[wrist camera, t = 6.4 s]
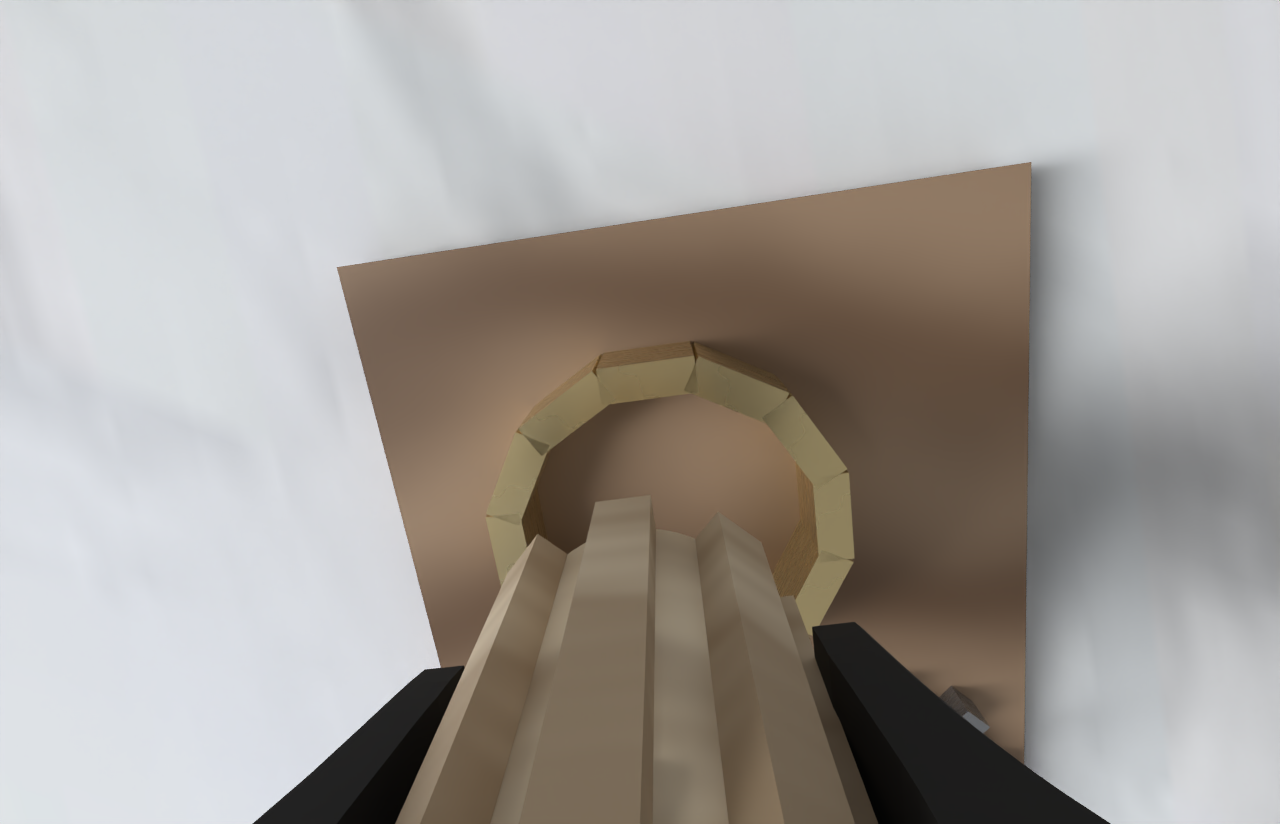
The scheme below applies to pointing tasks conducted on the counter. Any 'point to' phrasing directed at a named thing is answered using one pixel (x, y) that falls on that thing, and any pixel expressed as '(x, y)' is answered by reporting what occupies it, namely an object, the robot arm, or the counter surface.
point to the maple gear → (641, 692)
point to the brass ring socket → (680, 369)
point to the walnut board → (725, 439)
